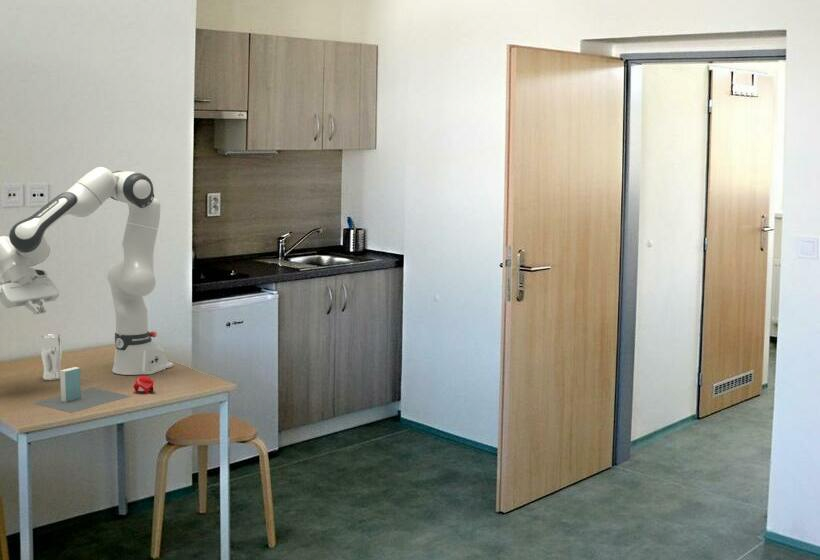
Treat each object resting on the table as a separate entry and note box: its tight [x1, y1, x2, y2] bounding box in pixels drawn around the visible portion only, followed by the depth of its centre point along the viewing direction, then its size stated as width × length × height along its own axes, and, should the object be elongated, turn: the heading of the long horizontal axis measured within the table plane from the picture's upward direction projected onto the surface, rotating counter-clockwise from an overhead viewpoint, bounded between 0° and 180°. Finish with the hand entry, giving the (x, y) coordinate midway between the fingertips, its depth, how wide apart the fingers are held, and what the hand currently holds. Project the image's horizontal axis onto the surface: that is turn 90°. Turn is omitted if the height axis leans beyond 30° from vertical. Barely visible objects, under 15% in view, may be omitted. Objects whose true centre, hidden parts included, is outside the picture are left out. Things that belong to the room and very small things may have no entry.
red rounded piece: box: [133, 375, 154, 394], centre depth 341 cm, size 8×6×6 cm
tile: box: [59, 366, 82, 402], centre depth 329 cm, size 6×2×10 cm, turn 148°
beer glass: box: [40, 333, 63, 381], centre depth 357 cm, size 7×7×15 cm
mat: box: [33, 387, 131, 414], centre depth 330 cm, size 24×18×1 cm
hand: (40, 312), depth 332 cm, fingers closed
